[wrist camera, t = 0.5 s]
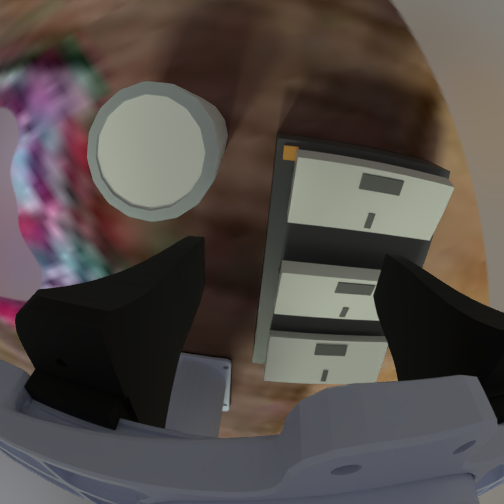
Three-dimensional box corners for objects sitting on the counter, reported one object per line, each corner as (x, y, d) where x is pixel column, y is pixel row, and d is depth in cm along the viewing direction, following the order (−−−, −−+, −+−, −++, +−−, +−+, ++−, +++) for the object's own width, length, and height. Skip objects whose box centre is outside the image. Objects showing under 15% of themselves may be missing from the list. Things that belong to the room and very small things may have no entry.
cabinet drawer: (424, 230, 17) (430, 241, 16) (287, 211, 17) (287, 223, 17) (447, 178, 14) (455, 188, 14) (296, 149, 15) (297, 157, 14)
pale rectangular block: (371, 376, 22) (375, 384, 21) (263, 373, 23) (263, 381, 22) (384, 336, 22) (389, 342, 20) (270, 330, 22) (270, 337, 21)
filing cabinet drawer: (395, 310, 20) (399, 322, 19) (274, 301, 20) (273, 314, 20) (418, 273, 18) (423, 286, 17) (282, 260, 18) (282, 273, 17)
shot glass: (259, 136, 19) (252, 153, 12) (188, 203, 21) (154, 248, 15) (186, 66, 17) (144, 51, 10) (122, 139, 19) (65, 160, 13)
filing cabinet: (371, 345, 26) (380, 372, 23) (254, 338, 27) (251, 367, 24) (431, 161, 18) (455, 173, 15) (276, 133, 18) (277, 139, 15)
